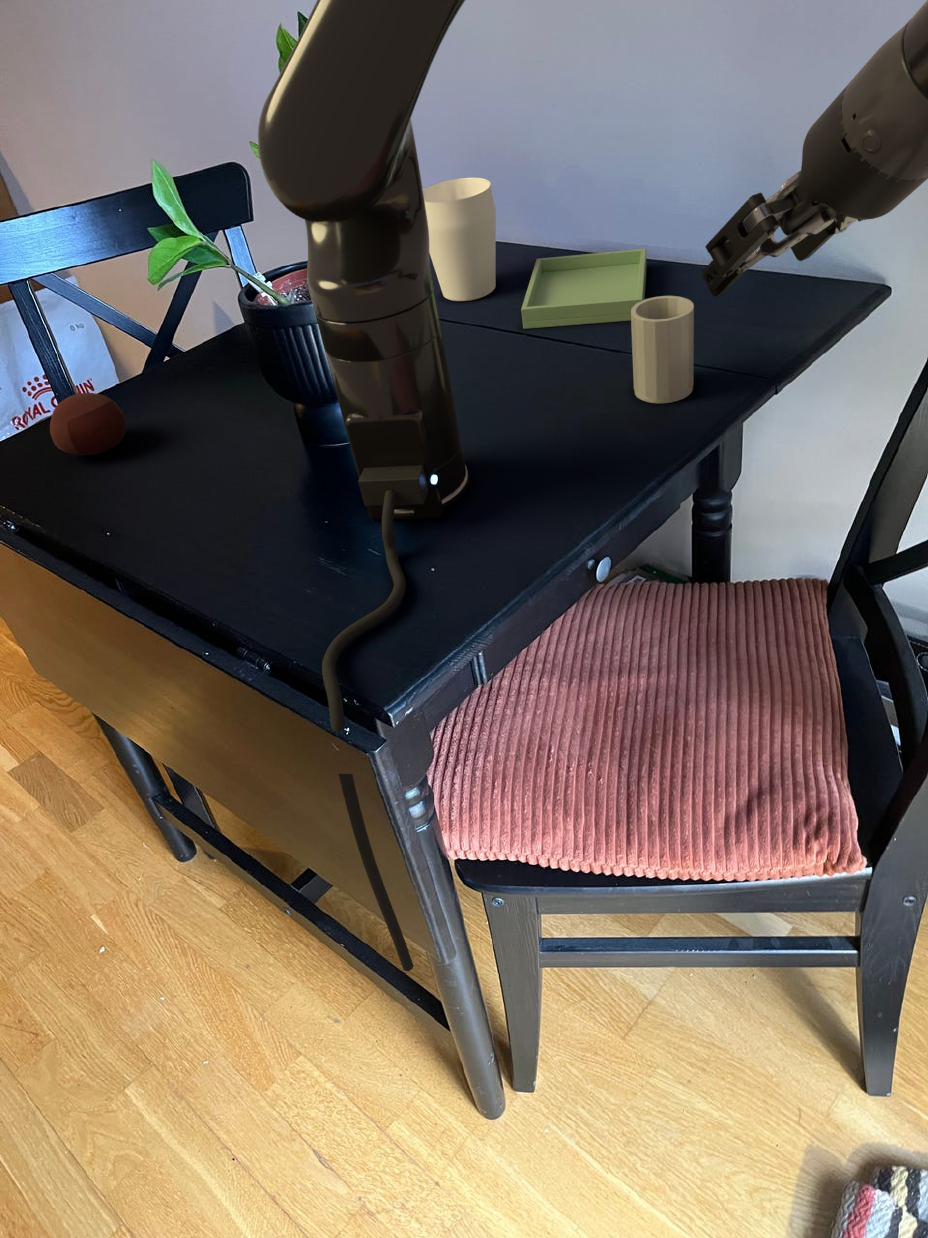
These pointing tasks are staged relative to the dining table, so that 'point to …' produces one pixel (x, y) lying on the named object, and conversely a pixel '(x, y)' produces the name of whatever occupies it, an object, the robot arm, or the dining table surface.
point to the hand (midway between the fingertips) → (753, 267)
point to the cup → (462, 237)
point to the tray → (584, 289)
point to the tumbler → (663, 348)
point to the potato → (87, 424)
